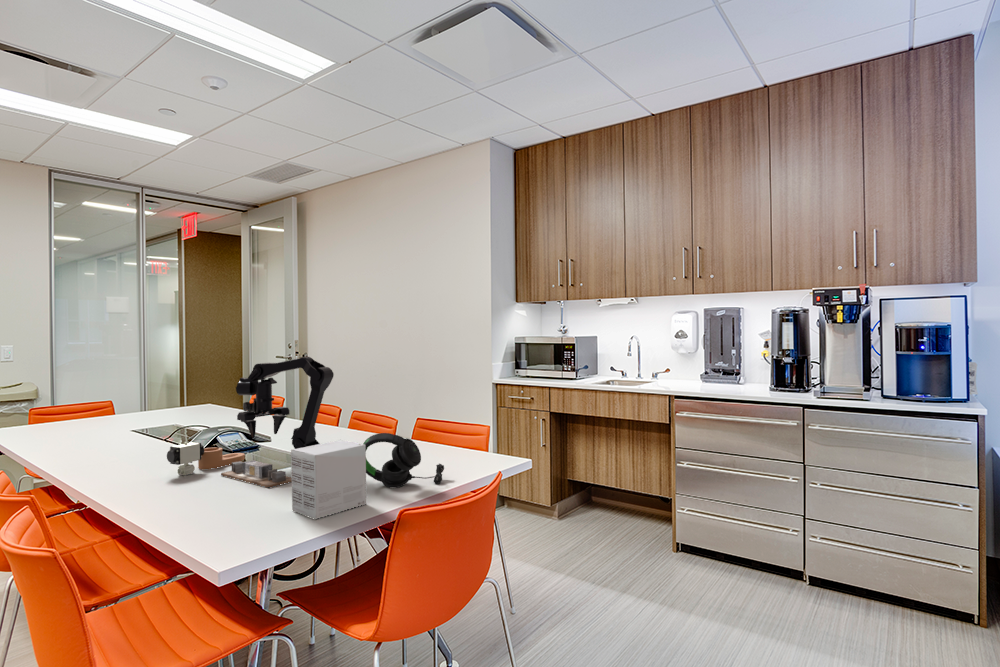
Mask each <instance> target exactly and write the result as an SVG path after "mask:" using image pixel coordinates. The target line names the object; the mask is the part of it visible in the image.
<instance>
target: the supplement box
mask: <svg viewBox="0 0 1000 667" xmlns="http://www.w3.org/2000/svg"><path fill="white" fill-rule="evenodd" d="M366 452H367V450H366V445H364V444H363V443H358V442H355V441H349V440H345V439H337V440H333V441H327V442H324V443H320V444H317V445H313V446H308V447H303V448H298V449H295V448H293V449H291V450H290V464H291V465H290V468H291V469H290V470H291V471H290V472H291V478H292V482H291V507H292V510H293V511H295V512H294V513H296V512H298V513H297V514H299V513H300V514H299V515H301V514H303V515H302V516H304V515H306V516H309V517H311V518H310V519H312V518H314V519H317V518H319V519H321V518H320V517H323V516H326V517H328V516H327V515H329V516H331V515H330V514H333V515H335V514H334V513H336V514H338V513H337V512H339V513H341V512H340V511H343V512H345V511H344V510H346V511H348V510H347V509H349V510H352V509H351V508H353V509H355V508H354V507H356V508H359V507H362V506H365V504H366V505H367V474H366V459H367V457H366V456H367V453H366ZM361 505H362V506H361ZM358 506H359V507H358ZM292 510H291V511H292ZM293 511H292V512H293ZM306 516H305V517H306ZM309 517H308V518H309ZM323 518H324V517H323ZM314 519H313V520H314ZM317 520H318V519H317Z"/></svg>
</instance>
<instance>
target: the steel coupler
mask: <svg viewBox="0 0 1000 667" xmlns="http://www.w3.org/2000/svg"><path fill="white" fill-rule="evenodd" d="M242 465H243V474H245V475H249V476H253V477H257V478H261V479H263V478H267V477H268V471H270V470H273V464H271V463H267V462H266V463H265V462H260V461H256V460H254V459H253V460H247V461H243V463H242Z"/></svg>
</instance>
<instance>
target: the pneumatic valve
mask: <svg viewBox="0 0 1000 667" xmlns="http://www.w3.org/2000/svg"><path fill="white" fill-rule="evenodd" d="M204 449H205V447H204V445H203V444H202V442H197V441H196V442H195V441H192V442H188V441H184V442H183V443H182V444H178V445H172V446H170V447H169V450H168V451H167V452H166V459H167V461H168V462H169V464H170V465H176V466H178V467H177V474H178V475H179V476H184V475H186V476H189V475H188V474H190V475H193V474H194V471H195V465H194V464H193V462H196V461H197V462H198V460H201V457H202V455H203V454H204ZM192 473H193V474H192Z"/></svg>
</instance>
